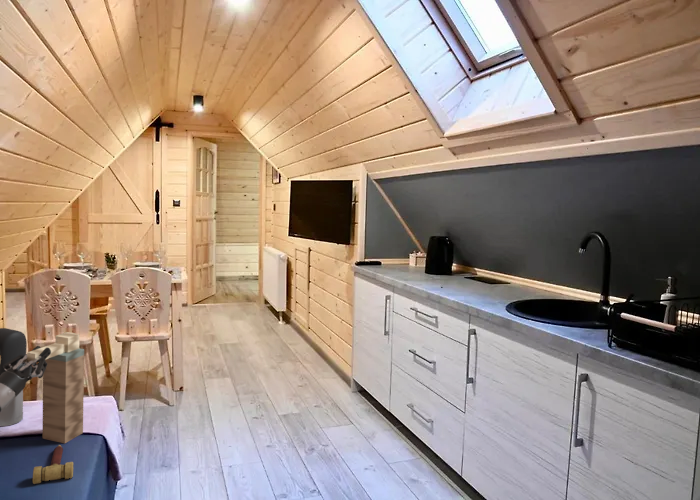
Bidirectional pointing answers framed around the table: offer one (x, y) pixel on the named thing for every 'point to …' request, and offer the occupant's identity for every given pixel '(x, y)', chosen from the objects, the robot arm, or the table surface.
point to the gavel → (53, 469)
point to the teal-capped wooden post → (63, 396)
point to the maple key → (58, 346)
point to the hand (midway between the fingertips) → (44, 348)
